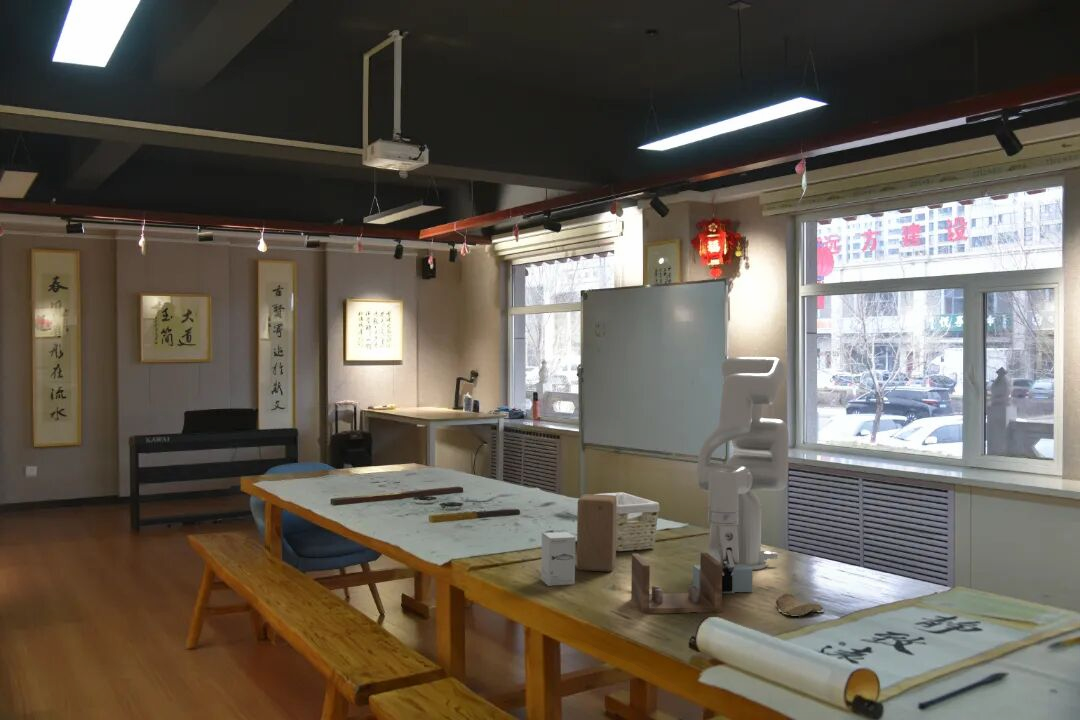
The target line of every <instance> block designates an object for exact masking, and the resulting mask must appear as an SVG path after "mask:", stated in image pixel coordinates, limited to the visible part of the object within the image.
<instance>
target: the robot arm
mask: <svg viewBox="0 0 1080 720" xmlns="http://www.w3.org/2000/svg"><path fill="white" fill-rule="evenodd" d="M721 373H722V377H723V382H722V389H721V399H720V408H719V409H720V411H719V419H718V420H719V421H718V426H717V427H716V428H715V430H714V431H712V432H711V433H709V435H708V437H707V438H706V439H705V440H704V441H703V443H702V445H701V447H700V450H699V453H698V458H697V460H698V461H697V469H696V484H697V487H698V489H700V490H701V491H703V492H708V499H707V501H708V505H707V508H708V509H707V514H708V515H707V522H708V524H710V525H709V526H710V529H709V546H708V547H709V548H708V549H709V555H711V556H712V557H713V558H714V559H716V560H717V561H718V562H720V563H721V564H722V592H731V591H732V576H733V569H734V564H746V565H748V566H749V567H750V568H752V569H753V571H754V570H755V571H756V570H763V569H765V568H766V567H767V562H766V561H767V560H769V559H770V560H777V559H778V553H777V552H776V551H775V552H773V551H772V552H771V551H765V550H763V549H762V504H761V501H760V498H759V497H758V496H757V494H756V493H755V491H754V490H756V491H757V490H760V491H773V492H777V491H783V490H784V489H785V488H786V486H787V484H788V477H789V448H790V447H789V445H790V443H789V442H790V440H789V439H790V438H789V429H788V426H787V423H786V422H785V421H784V420H782V419H778V418H764V417H763V405H772V404H774V403H775V401H776V400H777V398H778V395H779V393H780V390H781V387H782V385H783V383H784V382H783V380H784V377H785V367H784V363H783V362H782V360H781V359H780V358H778V357H774V356H773V357H771V356H768V357H767V356H732V357H728V358H725V359H724V360H723V362H722V363H721ZM728 442H732V446H733V447H734V448H735V449H737V450H739V451H741V450H742V451H747V452H748V451H749V452H750V451H751V452H764V453H765V452H767V453H770V454H771V456H765V455H764V456H761V455H748V454H746V455H745V454H741V455H740V454H739V455H736V454H735V455H733V456H731V457H729V458H728V459H727V460H726V462H725V464H724V463H723V464H722V463H720V464H719V463H711V459H712V455H713V454H714V452H715V450H717V449H718V448H720V446H722V445H724V444H726V443H728ZM724 566H727V567H725V569H724Z"/></svg>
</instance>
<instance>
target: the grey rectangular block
mask: <svg viewBox="0 0 1080 720" xmlns="http://www.w3.org/2000/svg"><path fill="white" fill-rule="evenodd" d="M725 567H727V566H724V569H725ZM692 569H693V570H692V572H693V575H692V576H693V577H692V578H693V579H692V580H693V581H692V585H695V586H696V588H697V589H699V593H700V564H695V565H693V568H692ZM753 572H754V570H753V569H752V568H750V567H749V566H748V565H746V564H734V569H733V576H732V591H731V592H722V594H736V593H735V592H752V593H753V581H754V580H753V575H754V574H753Z"/></svg>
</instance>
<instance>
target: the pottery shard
mask: <svg viewBox="0 0 1080 720" xmlns="http://www.w3.org/2000/svg"><path fill="white" fill-rule="evenodd" d="M775 604H776V606H777V610H778V609H780V610H781V611H782V612H783V613H787V614H789V615H803V616H805V615H806V614H807V615H808V613H813V612H817V611H821V610H822V609H824V608H823V606H822V605H821V604H820V603H817V602H806V603H804V602H799V601H798V600H797V598H795V596H794V595H793V594H791V593H783V594H782V595H780V596H779V597H778V598H777V599H776V601H775ZM811 611H812V612H811ZM804 614H805V615H804Z"/></svg>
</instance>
